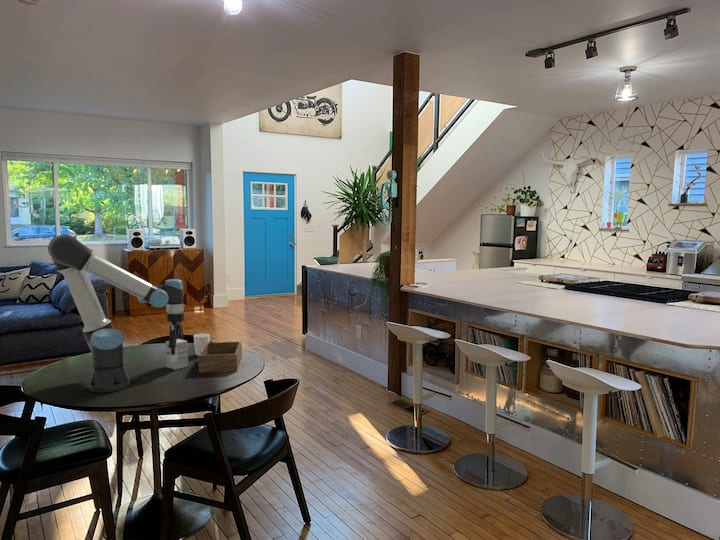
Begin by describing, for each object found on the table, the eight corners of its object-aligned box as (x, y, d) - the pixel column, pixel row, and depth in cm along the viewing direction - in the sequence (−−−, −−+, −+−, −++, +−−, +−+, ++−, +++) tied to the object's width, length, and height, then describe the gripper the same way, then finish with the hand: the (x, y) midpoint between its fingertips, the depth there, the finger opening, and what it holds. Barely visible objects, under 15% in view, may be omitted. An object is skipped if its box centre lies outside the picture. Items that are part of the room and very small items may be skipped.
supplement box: (165, 367, 241) (164, 341, 240) (179, 364, 247) (178, 338, 246) (174, 370, 237) (173, 343, 236) (188, 366, 243) (187, 340, 241)
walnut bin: (237, 371, 235) (236, 354, 234) (198, 373, 233) (198, 355, 232) (241, 357, 259) (241, 341, 258) (207, 358, 257) (206, 342, 256)
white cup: (211, 355, 262) (210, 336, 261) (194, 357, 259) (194, 337, 258) (209, 351, 269) (209, 333, 268) (193, 353, 266) (193, 334, 265)
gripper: (177, 317, 228) (179, 364, 230) (188, 307, 252) (190, 349, 254) (160, 318, 227) (162, 365, 229) (172, 307, 251) (174, 350, 253)
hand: (177, 357), depth 242 cm, fingers open, 13 cm apart
